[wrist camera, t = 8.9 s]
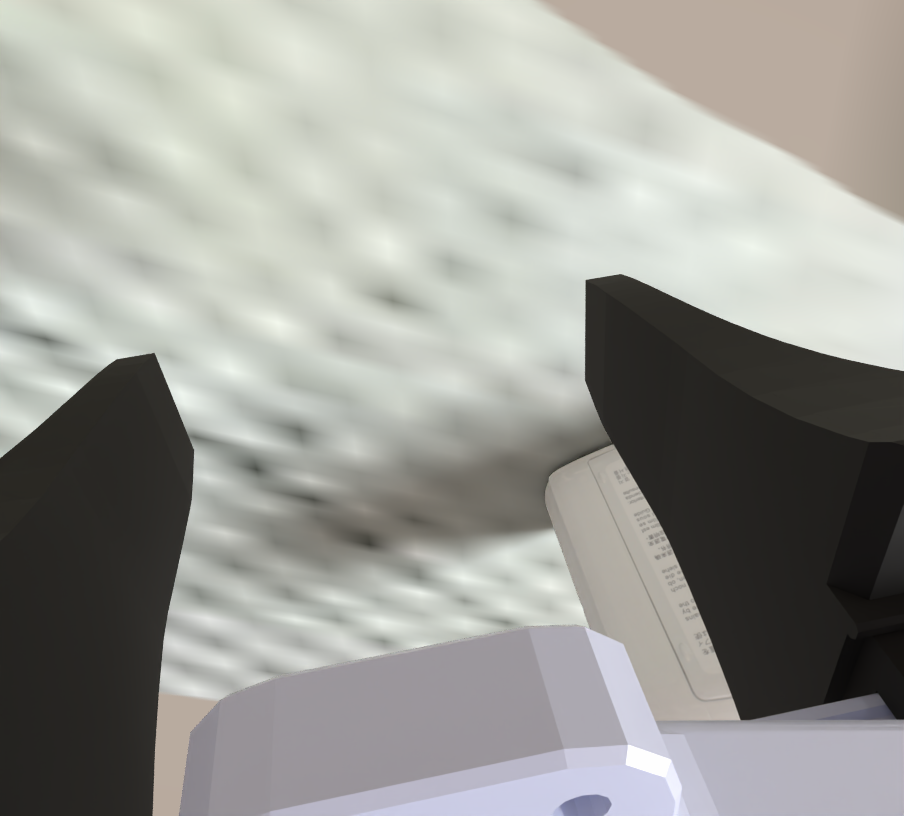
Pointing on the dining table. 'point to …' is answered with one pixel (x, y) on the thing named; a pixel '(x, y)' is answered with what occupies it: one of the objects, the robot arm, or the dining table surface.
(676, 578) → the photo printer
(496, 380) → the dining table surface
